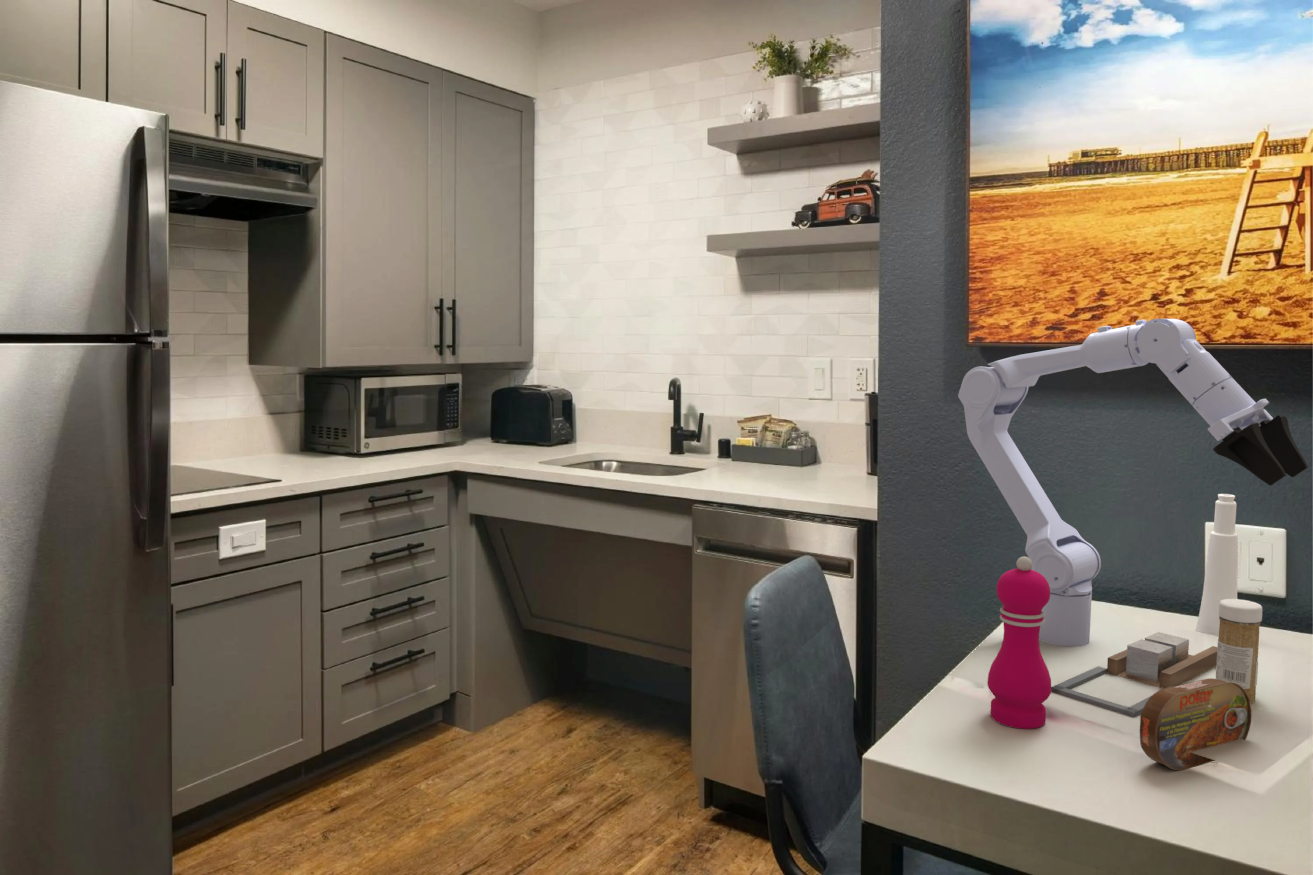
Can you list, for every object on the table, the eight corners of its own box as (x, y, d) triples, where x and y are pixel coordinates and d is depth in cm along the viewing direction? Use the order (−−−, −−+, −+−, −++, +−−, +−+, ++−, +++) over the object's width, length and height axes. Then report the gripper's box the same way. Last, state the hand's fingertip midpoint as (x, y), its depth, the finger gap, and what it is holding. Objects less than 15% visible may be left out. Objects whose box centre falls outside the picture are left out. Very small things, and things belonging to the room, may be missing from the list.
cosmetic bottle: (1230, 644, 142) (1240, 499, 140) (1187, 635, 147) (1196, 494, 144) (1246, 637, 146) (1256, 495, 143) (1204, 627, 151) (1213, 490, 148)
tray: (1049, 702, 120) (1050, 687, 120) (1097, 680, 128) (1098, 666, 127) (1133, 729, 112) (1134, 712, 112) (1179, 703, 120) (1180, 688, 119)
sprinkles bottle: (1262, 710, 118) (1270, 604, 116) (1244, 718, 115) (1251, 610, 114) (1223, 698, 121) (1230, 595, 120) (1205, 706, 119) (1212, 601, 117)
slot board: (1106, 683, 127) (1107, 657, 126) (1160, 657, 137) (1162, 633, 136) (1169, 701, 120) (1170, 674, 120) (1221, 673, 130) (1222, 648, 130)
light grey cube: (1125, 674, 126) (1127, 645, 125) (1139, 668, 128) (1141, 639, 128) (1157, 683, 122) (1158, 653, 122) (1170, 676, 125) (1172, 646, 124)
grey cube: (1143, 666, 129) (1144, 637, 128) (1156, 660, 131) (1158, 631, 131) (1174, 674, 126) (1175, 645, 125) (1187, 668, 128) (1189, 639, 128)
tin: (1156, 777, 100) (1161, 699, 99) (1131, 764, 103) (1135, 689, 102) (1252, 752, 106) (1257, 679, 105) (1225, 741, 109) (1230, 669, 108)
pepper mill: (1048, 711, 117) (1055, 552, 115) (1051, 734, 110) (1059, 565, 108) (986, 703, 120) (992, 547, 117) (985, 726, 113) (992, 560, 111)
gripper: (1215, 375, 116) (1297, 464, 110) (1260, 368, 125) (1338, 450, 119) (1169, 412, 121) (1245, 499, 115) (1215, 402, 130) (1288, 482, 124)
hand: (1289, 476), depth 117 cm, fingers open, 7 cm apart
